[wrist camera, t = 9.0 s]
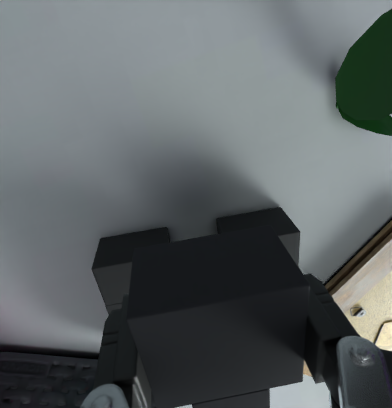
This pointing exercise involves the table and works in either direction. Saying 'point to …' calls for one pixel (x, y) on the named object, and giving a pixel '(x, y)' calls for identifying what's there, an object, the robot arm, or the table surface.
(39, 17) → the table surface
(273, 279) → the small pad
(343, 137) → the table surface
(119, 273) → the base pad
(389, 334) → the picture frame
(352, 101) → the flower
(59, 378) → the storage bin
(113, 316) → the robot arm
